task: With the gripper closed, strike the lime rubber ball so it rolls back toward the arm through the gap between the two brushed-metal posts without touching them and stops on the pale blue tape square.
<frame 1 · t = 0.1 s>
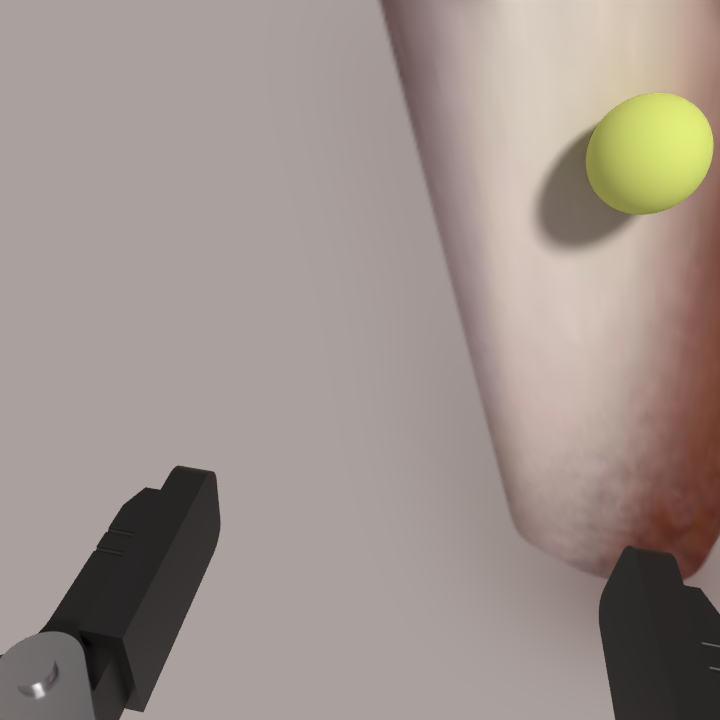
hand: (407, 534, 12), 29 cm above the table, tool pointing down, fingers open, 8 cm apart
ball: (646, 155, 32), on the table
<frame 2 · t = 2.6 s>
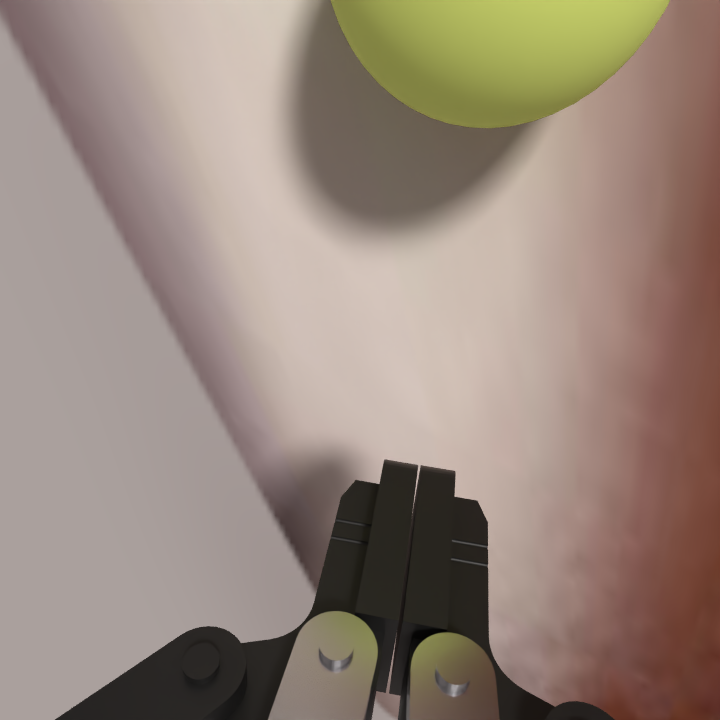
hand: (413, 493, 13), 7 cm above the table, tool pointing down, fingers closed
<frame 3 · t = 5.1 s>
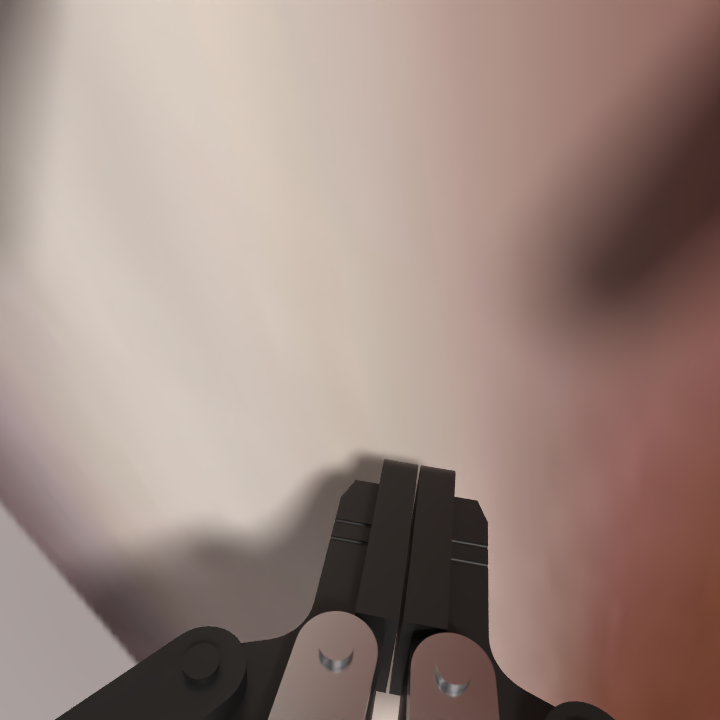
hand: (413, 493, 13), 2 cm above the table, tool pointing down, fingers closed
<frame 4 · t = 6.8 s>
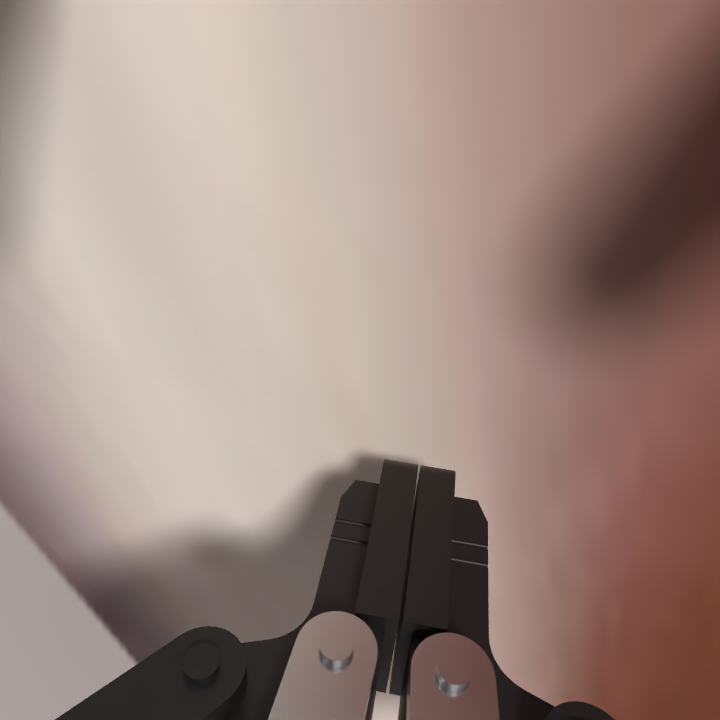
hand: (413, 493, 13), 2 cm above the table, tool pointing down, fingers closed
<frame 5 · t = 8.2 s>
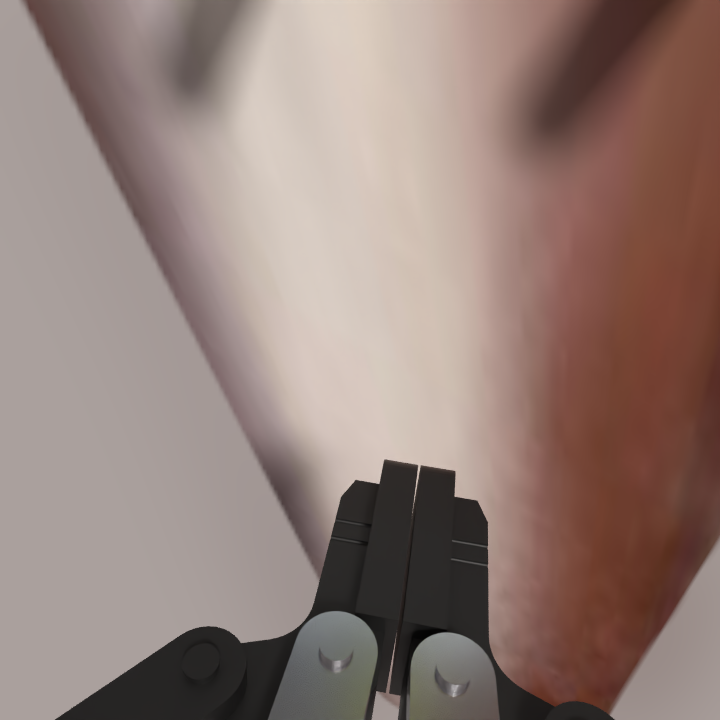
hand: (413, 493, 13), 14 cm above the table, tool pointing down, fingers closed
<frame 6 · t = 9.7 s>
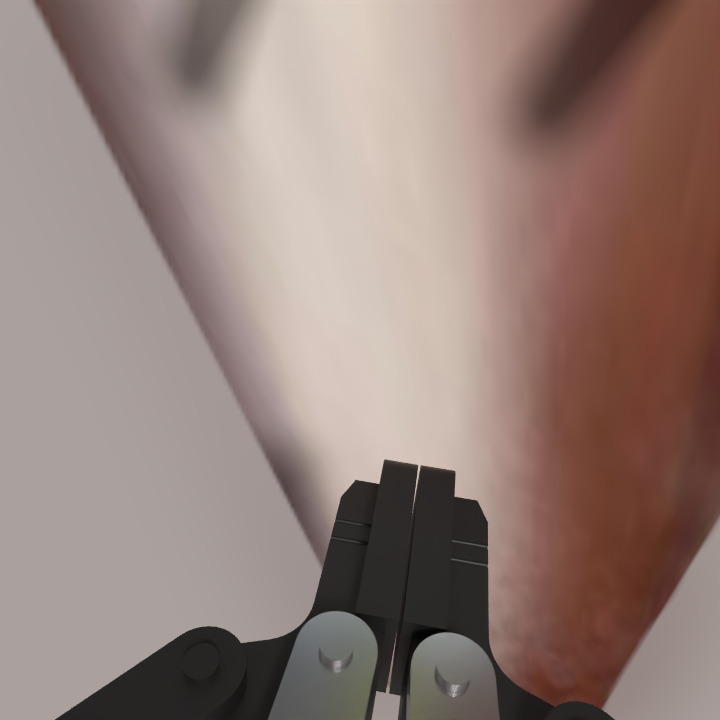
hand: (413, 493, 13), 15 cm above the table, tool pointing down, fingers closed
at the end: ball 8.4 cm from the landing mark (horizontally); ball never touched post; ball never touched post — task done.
